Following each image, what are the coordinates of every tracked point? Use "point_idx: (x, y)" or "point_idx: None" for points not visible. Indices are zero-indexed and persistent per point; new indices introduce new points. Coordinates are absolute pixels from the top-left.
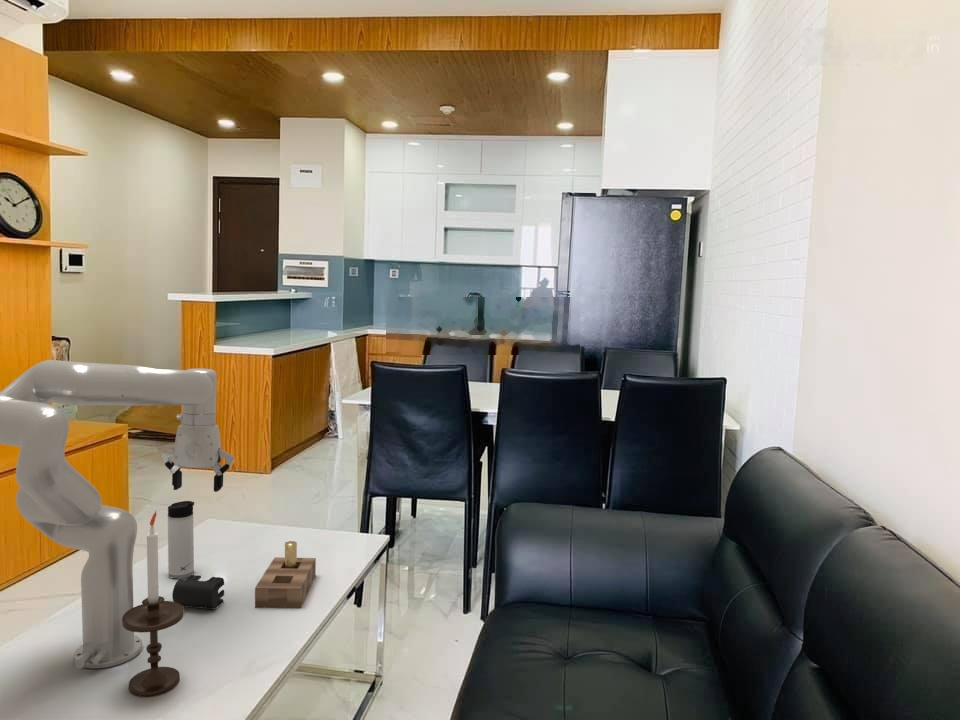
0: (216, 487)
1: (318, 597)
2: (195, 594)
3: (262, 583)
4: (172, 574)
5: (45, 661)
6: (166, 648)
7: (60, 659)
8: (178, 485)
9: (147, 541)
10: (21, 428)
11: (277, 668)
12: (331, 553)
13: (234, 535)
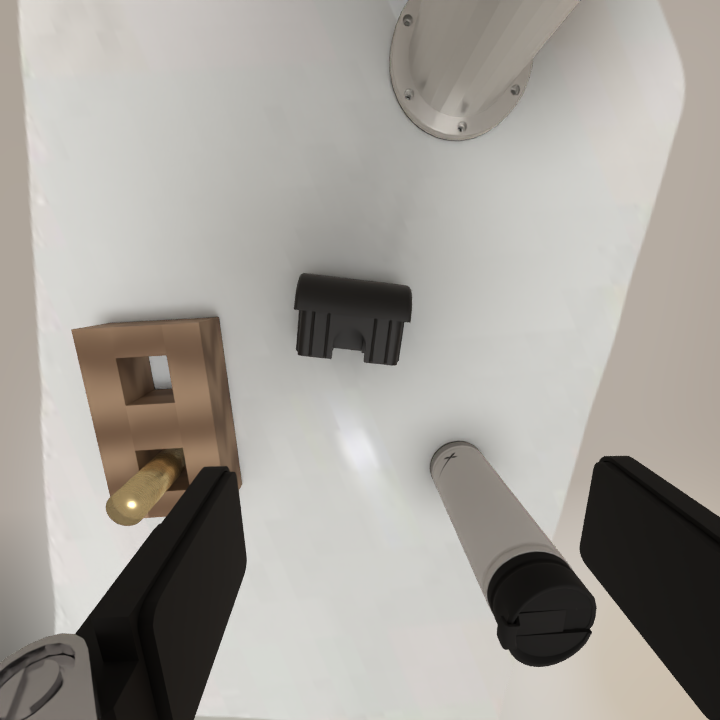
0: (188, 491)
1: None
2: (345, 280)
3: (190, 351)
4: (470, 446)
5: (583, 17)
6: (338, 97)
7: None
8: (611, 515)
9: None
10: None
11: (32, 8)
12: None
13: (416, 668)
